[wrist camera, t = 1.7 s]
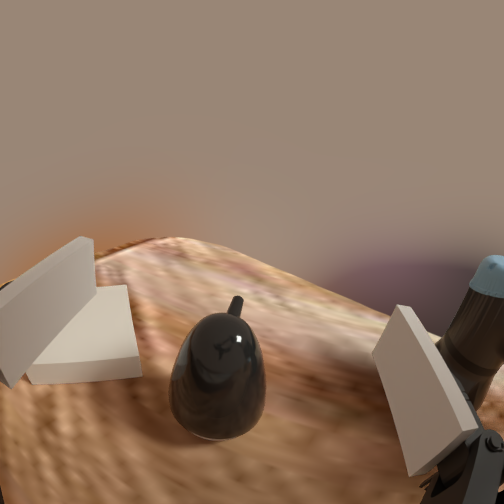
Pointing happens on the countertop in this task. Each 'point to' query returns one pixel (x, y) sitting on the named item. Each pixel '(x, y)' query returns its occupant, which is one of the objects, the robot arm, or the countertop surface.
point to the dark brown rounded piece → (219, 377)
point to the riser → (92, 344)
